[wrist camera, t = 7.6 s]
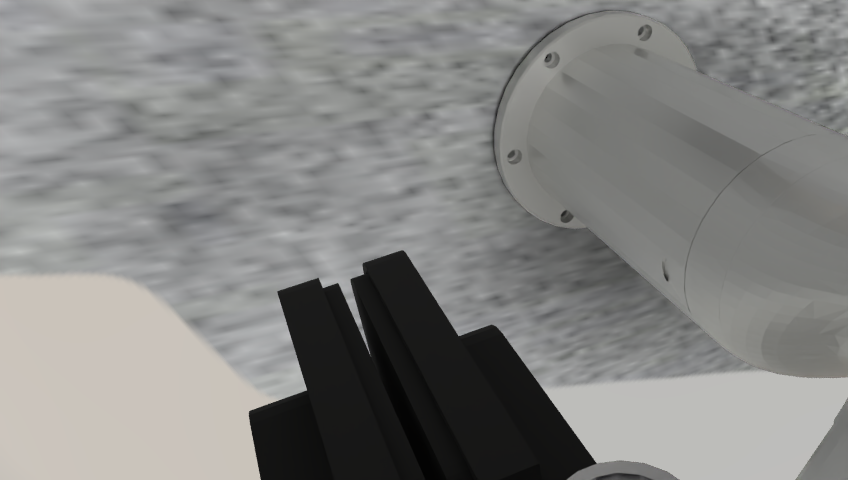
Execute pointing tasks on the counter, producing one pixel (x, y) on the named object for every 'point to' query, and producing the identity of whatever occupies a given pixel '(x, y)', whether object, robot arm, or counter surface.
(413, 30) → the counter surface
